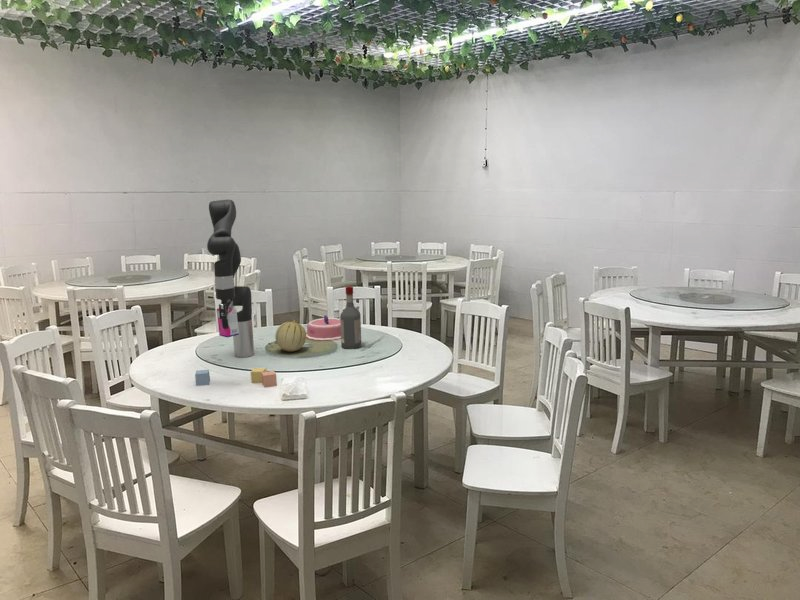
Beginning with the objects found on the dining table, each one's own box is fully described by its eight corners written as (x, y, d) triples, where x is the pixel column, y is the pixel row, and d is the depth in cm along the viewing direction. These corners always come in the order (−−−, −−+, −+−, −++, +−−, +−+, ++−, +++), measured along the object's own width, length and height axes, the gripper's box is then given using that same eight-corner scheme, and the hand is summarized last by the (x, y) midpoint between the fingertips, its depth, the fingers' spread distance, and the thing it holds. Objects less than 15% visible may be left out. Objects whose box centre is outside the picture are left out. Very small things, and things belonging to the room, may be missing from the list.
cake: (300, 332, 331) (299, 313, 329) (344, 327, 338) (344, 309, 336) (308, 343, 308) (307, 323, 305) (355, 338, 315) (355, 318, 313)
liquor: (362, 344, 303) (360, 285, 297) (359, 349, 294) (356, 288, 288) (344, 344, 304) (341, 285, 298) (340, 349, 295) (338, 288, 289)
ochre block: (255, 379, 253) (254, 367, 252) (266, 379, 252) (266, 367, 251) (251, 383, 248) (250, 371, 247) (263, 383, 247) (262, 371, 246)
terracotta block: (262, 383, 247) (261, 372, 246) (274, 382, 249) (273, 370, 248) (264, 387, 242) (263, 375, 241) (276, 385, 244) (276, 373, 243)
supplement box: (230, 332, 250) (228, 305, 247) (239, 334, 246) (237, 307, 244) (218, 335, 245) (216, 308, 243) (227, 337, 242) (224, 310, 239)
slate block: (197, 382, 251) (196, 370, 250) (209, 380, 252) (208, 369, 251) (196, 385, 246) (195, 374, 245) (208, 384, 247) (207, 373, 246)
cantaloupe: (271, 354, 288) (269, 324, 285) (284, 346, 302) (282, 317, 299) (299, 355, 285) (298, 325, 282) (311, 347, 299) (310, 318, 296)
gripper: (219, 283, 249) (222, 322, 252) (210, 290, 235) (214, 330, 238) (238, 283, 249) (240, 321, 252) (230, 289, 235) (233, 330, 238)
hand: (228, 325), depth 245 cm, fingers closed on supplement box, 8 cm apart
